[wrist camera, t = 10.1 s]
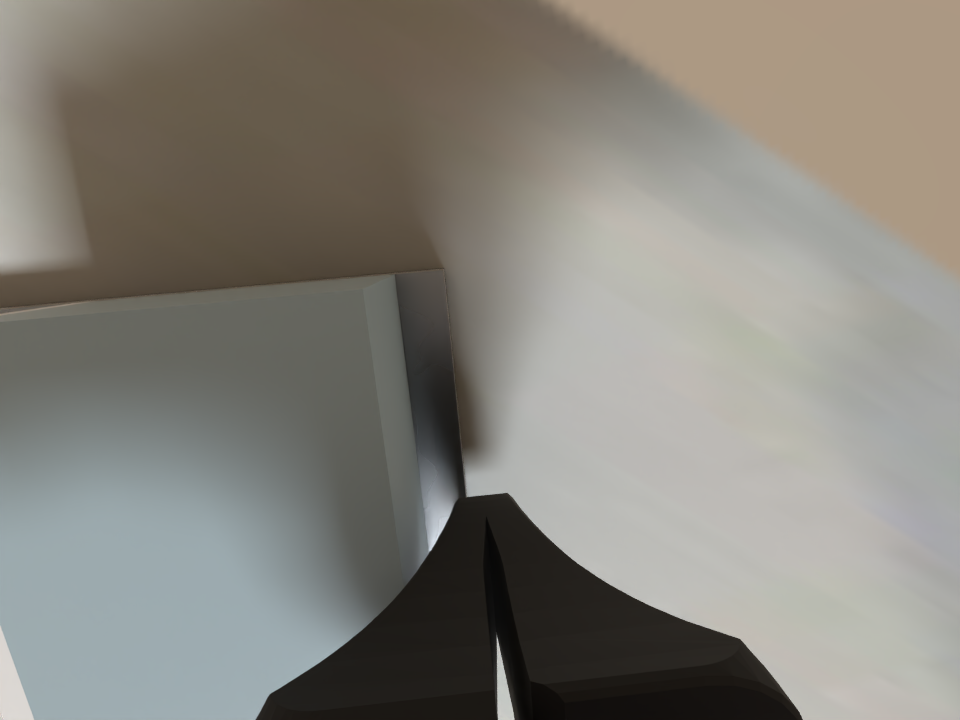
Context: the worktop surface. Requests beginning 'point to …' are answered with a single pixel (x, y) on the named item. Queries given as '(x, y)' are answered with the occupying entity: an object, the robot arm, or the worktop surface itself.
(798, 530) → the worktop surface
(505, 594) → the robot arm
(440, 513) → the base
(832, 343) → the worktop surface
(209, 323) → the block
